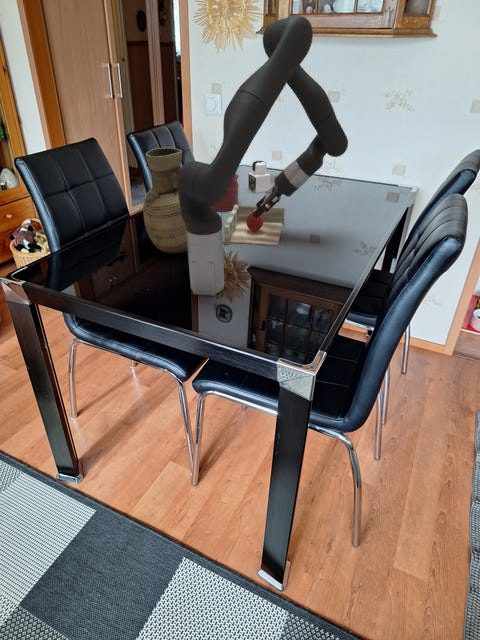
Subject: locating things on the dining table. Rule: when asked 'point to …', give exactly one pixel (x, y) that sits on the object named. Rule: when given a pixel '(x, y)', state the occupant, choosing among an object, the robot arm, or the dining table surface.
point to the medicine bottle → (259, 177)
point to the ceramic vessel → (165, 202)
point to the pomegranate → (254, 222)
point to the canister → (229, 197)
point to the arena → (242, 234)
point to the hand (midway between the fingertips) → (256, 211)
